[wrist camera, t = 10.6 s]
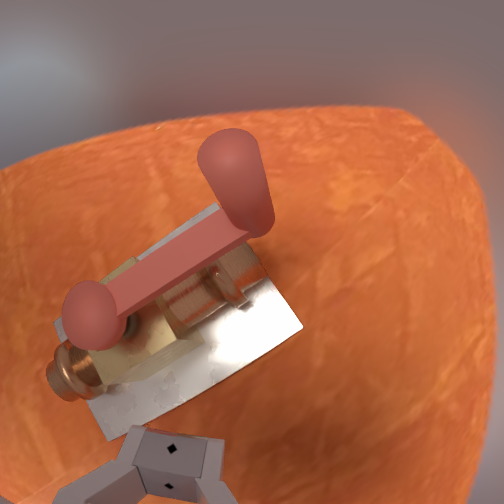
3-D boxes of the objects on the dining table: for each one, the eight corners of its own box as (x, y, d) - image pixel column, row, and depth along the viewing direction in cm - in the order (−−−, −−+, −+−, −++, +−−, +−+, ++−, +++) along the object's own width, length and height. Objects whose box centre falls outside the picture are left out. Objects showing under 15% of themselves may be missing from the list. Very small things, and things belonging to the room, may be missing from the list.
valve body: (112, 440, 25) (53, 460, 17) (57, 323, 30) (-3, 310, 21) (303, 327, 26) (303, 317, 18) (217, 205, 31) (186, 153, 22)
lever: (89, 361, 18) (11, 357, 12) (68, 305, 20) (-5, 283, 13) (291, 235, 19) (283, 173, 12) (253, 182, 20) (229, 108, 14)
